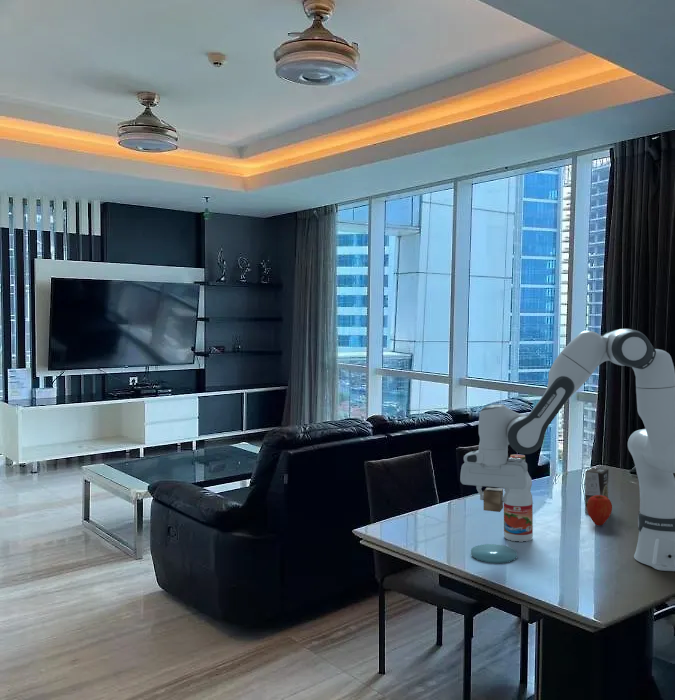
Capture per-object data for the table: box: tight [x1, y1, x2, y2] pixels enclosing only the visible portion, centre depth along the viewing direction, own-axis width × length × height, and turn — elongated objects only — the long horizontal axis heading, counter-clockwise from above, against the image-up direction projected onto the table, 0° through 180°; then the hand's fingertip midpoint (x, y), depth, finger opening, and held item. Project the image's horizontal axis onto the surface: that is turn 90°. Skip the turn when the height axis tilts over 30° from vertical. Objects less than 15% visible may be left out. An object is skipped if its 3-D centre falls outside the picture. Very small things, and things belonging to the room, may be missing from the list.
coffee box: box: [584, 467, 609, 515], centre depth 258 cm, size 9×6×16 cm
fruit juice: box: [503, 453, 534, 543], centre depth 229 cm, size 9×9×28 cm
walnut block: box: [482, 487, 504, 513], centre depth 212 cm, size 5×5×6 cm
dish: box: [470, 543, 518, 564], centre depth 213 cm, size 14×14×1 cm
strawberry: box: [587, 495, 613, 527], centre depth 242 cm, size 9×8×11 cm
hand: (493, 500), depth 212 cm, fingers closed on walnut block, 5 cm apart
